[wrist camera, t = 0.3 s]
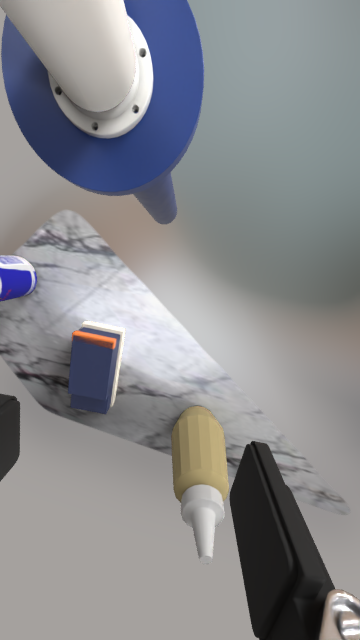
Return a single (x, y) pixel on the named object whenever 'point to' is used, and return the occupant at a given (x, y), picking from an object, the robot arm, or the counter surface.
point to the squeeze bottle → (200, 475)
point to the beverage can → (16, 277)
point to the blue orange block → (95, 366)
